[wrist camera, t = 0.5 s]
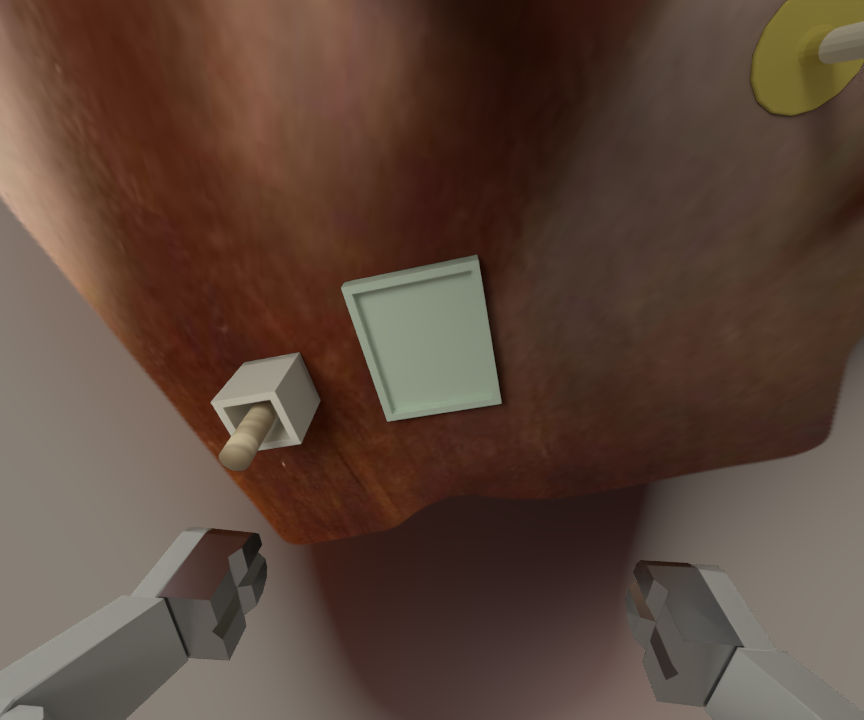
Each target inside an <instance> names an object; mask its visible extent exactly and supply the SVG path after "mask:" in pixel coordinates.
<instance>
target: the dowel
mask: <svg viewBox="0 0 864 720" xmlns="http://www.w3.org/2000/svg"><path fill="white" fill-rule="evenodd" d="M277 416H278V414H277V412H276V410H275V408H274V406H273V404H272V402H271V400H265V401H259V402H255V403H254V404H253V406H252V407H251V409H250V410H249V412H248V413H247V415H246V416H245V417H244V419H243V420H242V422H241V423H240V425H239V426H238V428H237V429H236V431H235V432H234V433H233V435H232V436H231V438H230V439H229V441H228V442H227V444H226V445H225V447H224V448H223V450H222V451H221V452H220V454H219V459H220V462H221V463H222V464H223V465H224V466H225V467H227V468H229V469H231V470H235V471H242V470H245V469H247V468H248V467H249V465H250V463H251V461H252V460H253V458H254V456H255V455H256V453H257V451H258V449H259V448H260V446H261V444H262V442H263V441H264V439H265V437H266V435H267V434H268V432H269V430H270V428H271V427H272V425H273V423H274V421H275V420H276V418H277Z"/></svg>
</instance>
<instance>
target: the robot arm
mask: <svg viewBox="0 0 864 720" xmlns="http://www.w3.org/2000/svg"><path fill="white" fill-rule="evenodd" d="M261 546H262V542H261V539H260V535H259V534H258V533H252V532H242V531H232V530H222V529H213V528H212V529H211V528H199V527H189V528H188V529H186V530H185V531H183V532H182V533H181V534H180V535H179V537H178V538H177V539H176V540H175V541H174V543H173V544H172V545H171V546H170V548H169V549H168V550H167V551H166V553H165V554H164V555H163V556H162V558H161V559H160V560H159V561H158V562H157V564H156V565H155V566H154V567H153V569H152V570H151V571H150V572H149V573H148V575H147V576H146V577H145V578H144V580H143V581H142V582H141V583H140V585H139V586H138V587H137V588H136V590H135V591H134V592H133V594H131V595H123V596H121V597H120V598H118V599H116V600H115V601H113V602H111V603H110V604H108V605H107V606H105V607H104V608H102V609H100V610H99V611H97V612H95V613H94V614H92V615H90V616H89V617H88V618H86V619H84V620H82V621H81V622H79V623H77V624H76V625H74V626H73V627H71V628H69V629H68V630H66V631H65V632H63V633H61V634H60V635H58V636H57V637H55V638H53V639H52V640H50V641H48V642H47V643H45V644H44V645H42V646H40V647H39V648H37V649H36V650H34V651H32V652H31V653H29V654H27V655H26V656H24V657H23V658H21V659H19V660H18V661H16V662H14V663H13V664H12V665H10V666H8V667H6V668H5V669H3V670H2V671H0V720H125V719H126V718H127V717H129V716H130V715H131V714H132V713H133V712H134V711H135V710H136V709H137V708H138V707H139V706H140V705H141V704H142V703H143V702H144V701H146V700H147V699H148V698H149V697H150V696H151V695H152V694H153V693H154V692H155V691H156V690H157V689H158V688H160V686H162V685H163V684H164V683H165V682H166V681H167V680H168V679H169V678H170V677H171V676H172V675H174V673H176V672H177V671H178V670H179V669H180V668H181V667H182V666H183V665H184V664H185V663H186V662H187V661H188V658H198V659H215V660H230V658H231V656H232V654H233V652H234V650H235V648H236V646H237V644H238V642H239V640H240V638H241V636H242V634H243V632H244V630H245V628H246V622H245V616H244V615H245V614H247V613H248V612H249V611H250V610H251V609H253V608H254V607H255V606H256V605H257V604H258V602H259V599H260V597H261V595H262V593H263V590H264V586H265V582H266V578H267V564H266V559H265V558H264V557H263V556H262V555H261V554H260V553H259V552H258V551H259V549H260V548H261ZM633 573H634V575H635V578H636V580H637V582H635V583H634V584H632V585H631V586H629V587H628V591H627V595H626V614H627V619H628V623H629V626H630V629H631V632H632V635H633V638H634V639H635V640H636V641H637V642H638V643H639V644H640V645H641V646H642V647H643V648H644V649H645V650H646V652H645V655H644V658H643V661H642V662H643V665H644V667H645V670H646V673H647V676H648V679H649V681H650V684H651V687H652V689H653V692H654V695H655V697H656V700H657V701H659V702H667V703H675V704H683V705H691V706H699V707H706V708H705V711H706V712H707V714H708V715H709V716H710V717H711V718H712V719H713V720H864V712H863V711H862V710H860V709H859V708H858V707H856V706H855V705H854V704H853V703H851V702H850V701H849V700H848V699H846V698H845V697H844V696H842V695H841V694H840V693H839V692H837V691H836V690H835V689H834V688H832V687H831V686H830V685H828V684H827V683H826V682H825V681H823V680H822V679H821V678H819V677H818V676H817V675H815V674H814V673H813V672H812V671H811V670H809V669H808V668H807V667H805V666H804V665H803V664H802V663H800V662H799V661H798V660H796V659H795V658H794V657H793V656H791V655H790V654H789V653H787V652H784V651H778V650H777V649H776V647H775V646H774V644H773V643H772V641H771V640H770V638H769V637H768V636H767V634H766V632H765V631H764V629H763V628H762V627H761V625H760V623H759V622H758V621H757V619H756V618H755V616H754V614H753V613H752V611H751V610H750V609H749V607H748V606H747V604H746V603H745V602H744V600H743V598H742V597H741V595H740V594H739V592H738V591H737V589H736V588H735V586H734V585H733V583H732V582H731V580H730V579H729V577H728V576H727V574H726V573H725V571H724V570H723V569H721V568H720V567H719V566H715V565H701V564H688V563H678V562H661V561H644V560H641V561H639V562H638V563H637V564H636V566H635V569H634V572H633Z"/></svg>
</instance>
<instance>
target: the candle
mask: <svg viewBox="0 0 864 720" xmlns="http://www.w3.org/2000/svg"><path fill="white" fill-rule="evenodd" d="M863 63H864V0H787V1H786V2H785V3H784V4H783V5H782V6H781V8H780V9H779V10H778V11H777V13H776V14H775V15H774V17H773V18H772V19H771V20H770V22H769V23H768V24H767V26H766V27H765V28H764V30H763V33H762V35H761V37H760V40H759V42H758V44H757V47H756V49H755V51H754V54H753V57H752V67H751V77H750V83H751V86H752V89H753V92H754V95H755V98H756V101H757V102H758V103H759V104H761V105H762V106H763V107H764V108H765V109H766V110H768V111H769V112H770V113H774V114H780V115H787V116H793V115H796V114H800V113H804V112H807V111H811V110H814V109H816V108H817V107H819V106H820V105H822V104H823V103H825V102H826V101H828V100H830V99H831V98H833V97H834V96H836V95H837V94H839V93H840V91H841V90H842V89H843V88H844V87H845V86H846V85H847V84H848V83H849V82H850V80H851V79H852V78H853V77H854V76H855V75H856V74H857V73H858V72H859V70H860V68H861V66H862V65H863Z"/></svg>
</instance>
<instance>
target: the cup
mask: <svg viewBox="0 0 864 720" xmlns="http://www.w3.org/2000/svg"><path fill="white" fill-rule="evenodd" d="M265 400H271V402H272V404H273V406H274V408H275V410H276V412H277V414H278V416H277V418H276V420H275V421H274V423H273V425H272V427H271V428H270V430H269V432H268V434H267V435H266V437H265V439H264V441H263V442H262V444H261V446H260V448H259V449H258V450H264V449H270V448H277V447H283V446H290V445H297V444H301V443H302V441H303V438H304V436H305V434H306V432H307V430H308V427H309V425H310V423H311V421H312V419H313V416H314V414H315V412H316V410H317V407H318V405H319V403H320V401H321V400H320V398H319V395H318V393H317V391H316V389H315V386H314V384H313V382H312V379H311V377H310V375H309V373H308V370H307V368H306V366H305V363H304V361H303V359H302V357H301V354H300V352H298V353H293V354H288V355H282V356H277V357H271V358H266V359H261V360H255V361H250V362H244V363H243V365H242V366H241V367H240V368H239V369H238V371H237V372H236V373H235V374H234V375H233V376H232V378H231V379H230V380H229V381H228V382H227V384H226V385H225V386H224V387H223V388H222V389H221V391H220V392H219V393H218V394H217V395H216V397H215V398H214V399H213V400H212V401H211V404H212V405H213V407H214V409H215V410H216V412H217V413H218V415H219V417H220V418H221V420H222V422H223V423H224V425H225V427H226V428H227V430H228V432H229V433H230V435H231V436H232V435H233V433H234V432H235V431H236V429H237V428H238V426H239V425H240V423H241V422H242V420H243V419H244V417H245V416H246V415H247V413H248V412H249V410H250V409H251V407H252V406H253V404H254V403H255V402H259V401H265Z"/></svg>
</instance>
